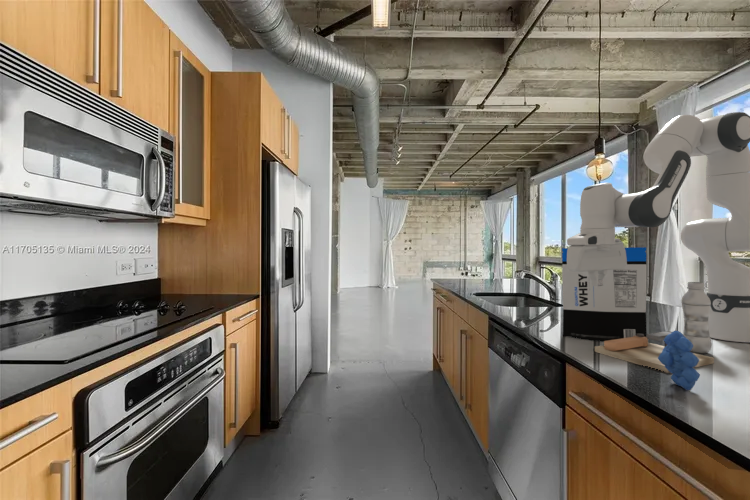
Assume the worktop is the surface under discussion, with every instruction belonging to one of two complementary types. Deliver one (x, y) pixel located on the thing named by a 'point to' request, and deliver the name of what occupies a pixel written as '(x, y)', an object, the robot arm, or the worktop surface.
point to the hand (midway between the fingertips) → (597, 285)
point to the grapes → (680, 360)
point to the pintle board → (649, 353)
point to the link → (625, 343)
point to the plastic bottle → (696, 317)
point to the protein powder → (606, 301)
